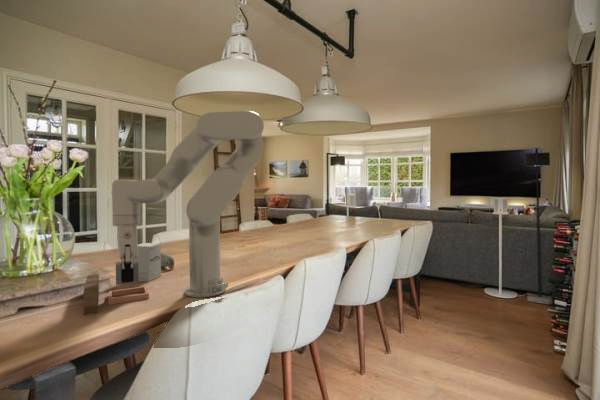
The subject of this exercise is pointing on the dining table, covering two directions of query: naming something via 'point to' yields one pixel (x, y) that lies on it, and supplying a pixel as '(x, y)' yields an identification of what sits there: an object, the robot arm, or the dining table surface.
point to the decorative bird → (167, 261)
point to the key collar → (128, 298)
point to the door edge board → (91, 294)
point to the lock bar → (118, 273)
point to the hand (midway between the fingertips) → (127, 279)
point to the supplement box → (149, 261)
